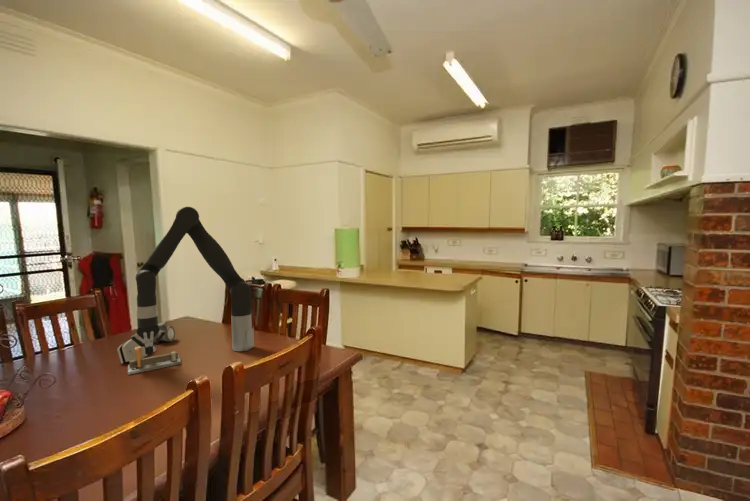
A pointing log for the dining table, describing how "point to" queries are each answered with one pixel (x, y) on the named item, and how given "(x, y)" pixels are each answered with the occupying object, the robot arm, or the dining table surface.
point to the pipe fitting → (166, 332)
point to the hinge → (131, 350)
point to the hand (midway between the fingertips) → (149, 354)
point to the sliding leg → (138, 355)
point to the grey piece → (154, 363)
